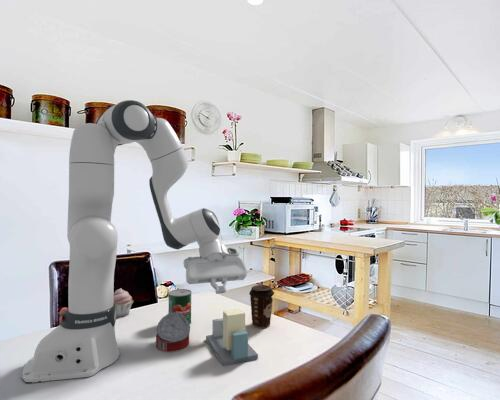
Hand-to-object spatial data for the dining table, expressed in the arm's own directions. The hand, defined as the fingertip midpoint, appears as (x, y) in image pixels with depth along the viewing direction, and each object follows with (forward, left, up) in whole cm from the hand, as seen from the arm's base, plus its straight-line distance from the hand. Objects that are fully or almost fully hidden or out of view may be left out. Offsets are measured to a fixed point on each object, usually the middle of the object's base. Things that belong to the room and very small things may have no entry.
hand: (221, 292), depth 101 cm
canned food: (-15, +2, -15) cm, 21 cm away
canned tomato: (-10, +17, -15) cm, 24 cm away
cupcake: (-29, +34, -15) cm, 47 cm away
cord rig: (0, -8, -14) cm, 16 cm away
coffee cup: (+16, +5, -15) cm, 22 cm away
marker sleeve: (0, -11, -12) cm, 16 cm away
